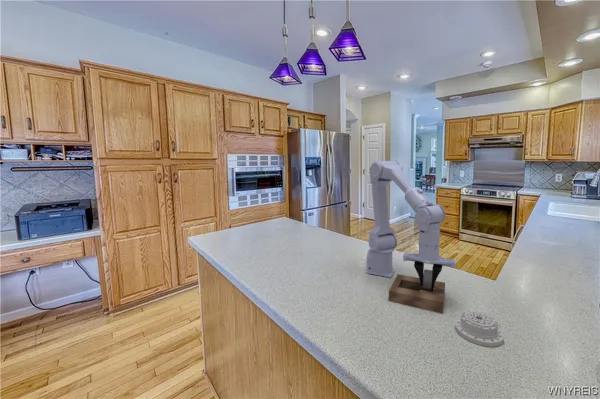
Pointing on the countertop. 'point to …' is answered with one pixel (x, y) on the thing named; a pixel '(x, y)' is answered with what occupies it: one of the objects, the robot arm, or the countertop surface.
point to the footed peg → (427, 280)
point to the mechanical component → (479, 329)
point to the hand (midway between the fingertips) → (427, 285)
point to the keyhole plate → (417, 293)
